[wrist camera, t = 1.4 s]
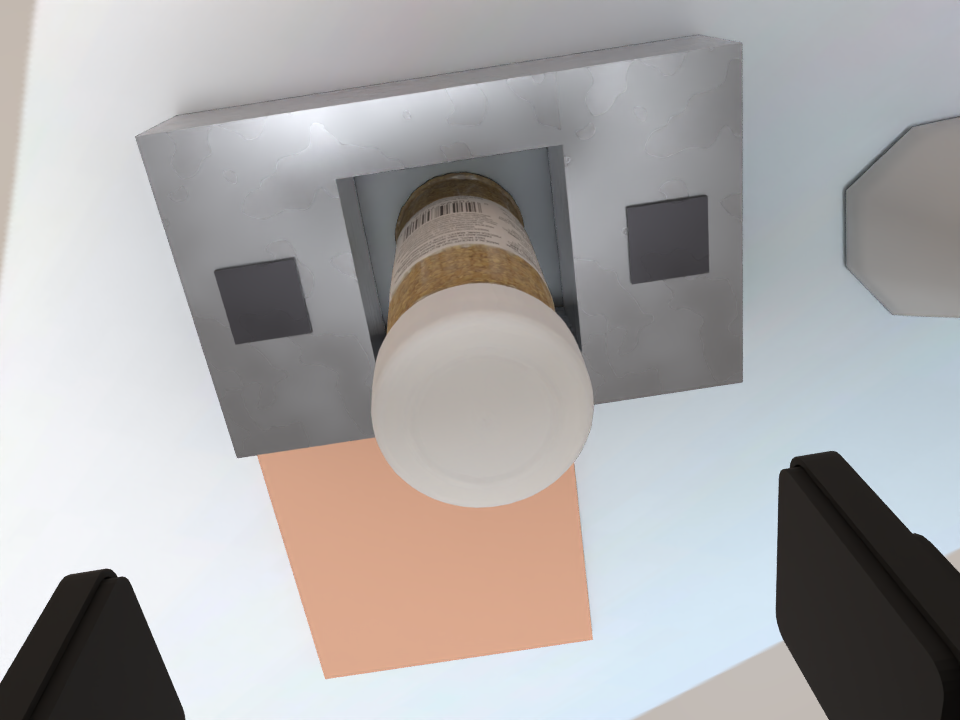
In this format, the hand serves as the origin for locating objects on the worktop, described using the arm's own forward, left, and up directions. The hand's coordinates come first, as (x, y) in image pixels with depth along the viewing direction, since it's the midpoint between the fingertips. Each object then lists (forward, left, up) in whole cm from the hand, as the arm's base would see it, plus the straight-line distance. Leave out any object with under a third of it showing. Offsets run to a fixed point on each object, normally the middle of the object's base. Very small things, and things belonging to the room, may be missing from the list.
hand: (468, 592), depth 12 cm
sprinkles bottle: (-1, 0, -19) cm, 19 cm away
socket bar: (-1, 0, -18) cm, 18 cm away
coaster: (+2, +13, -18) cm, 23 cm away
